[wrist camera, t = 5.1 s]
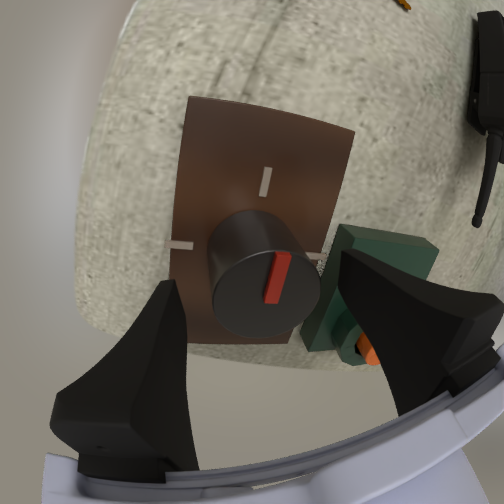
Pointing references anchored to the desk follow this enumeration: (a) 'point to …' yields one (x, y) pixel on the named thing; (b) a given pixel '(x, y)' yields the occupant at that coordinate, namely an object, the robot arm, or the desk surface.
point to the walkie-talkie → (488, 100)
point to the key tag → (405, 4)
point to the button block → (331, 302)
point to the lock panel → (248, 192)
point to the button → (367, 350)
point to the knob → (260, 276)
